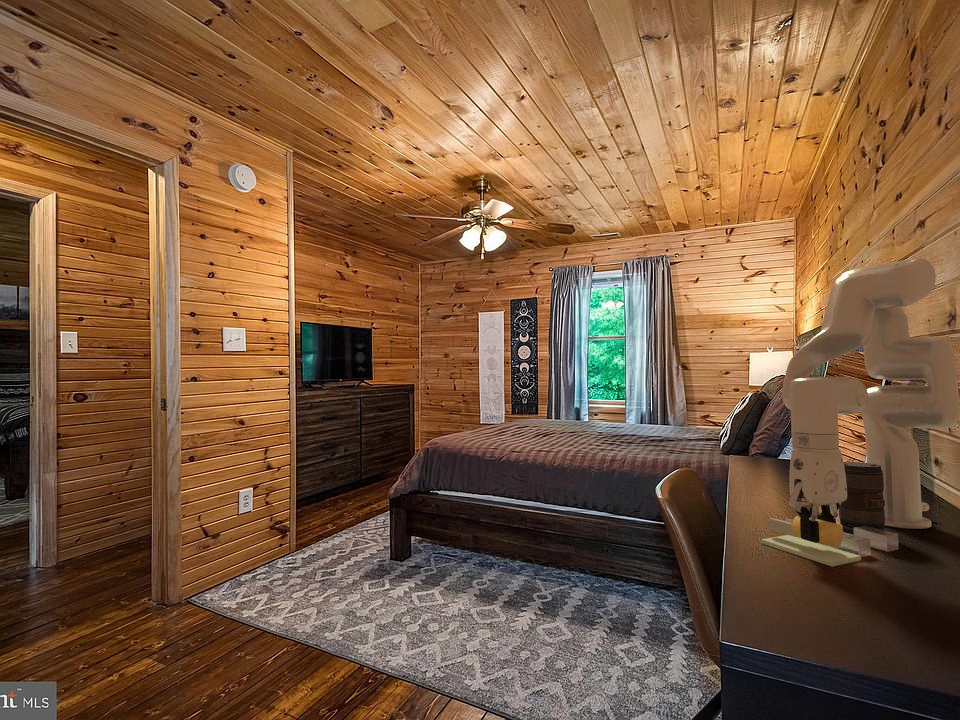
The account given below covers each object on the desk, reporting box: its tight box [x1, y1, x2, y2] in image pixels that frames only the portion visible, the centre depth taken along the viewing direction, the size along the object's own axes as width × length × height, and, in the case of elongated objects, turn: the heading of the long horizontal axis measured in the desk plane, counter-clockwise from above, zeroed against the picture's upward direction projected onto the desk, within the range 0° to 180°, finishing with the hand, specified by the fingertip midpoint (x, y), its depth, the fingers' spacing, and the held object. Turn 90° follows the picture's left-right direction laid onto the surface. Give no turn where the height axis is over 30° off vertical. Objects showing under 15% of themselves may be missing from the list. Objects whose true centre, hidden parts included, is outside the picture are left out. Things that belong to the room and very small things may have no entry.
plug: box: [767, 515, 844, 547], centre depth 98 cm, size 4×13×4 cm, turn 21°
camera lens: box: [838, 461, 885, 535], centre depth 108 cm, size 8×8×15 cm
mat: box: [761, 534, 862, 567], centre depth 97 cm, size 8×14×1 cm, turn 22°
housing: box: [784, 517, 900, 558], centre depth 105 cm, size 12×21×3 cm, turn 22°
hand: (818, 538), depth 95 cm, fingers closed on plug, 4 cm apart
